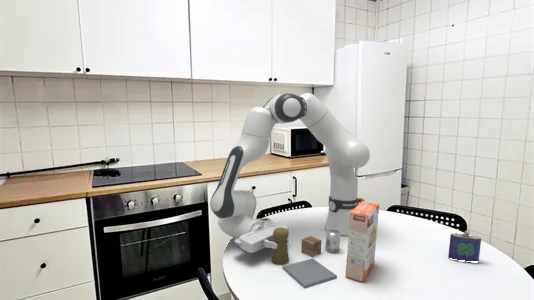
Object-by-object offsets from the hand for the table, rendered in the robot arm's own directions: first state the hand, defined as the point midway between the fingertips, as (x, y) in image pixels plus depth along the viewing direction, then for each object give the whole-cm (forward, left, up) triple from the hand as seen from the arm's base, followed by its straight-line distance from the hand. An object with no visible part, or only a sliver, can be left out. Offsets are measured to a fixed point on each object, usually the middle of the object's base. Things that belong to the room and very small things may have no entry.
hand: (282, 243), depth 101 cm
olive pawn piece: (0, -1, -6) cm, 6 cm away
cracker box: (-19, +16, -6) cm, 26 cm away
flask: (-56, +27, -6) cm, 63 cm away
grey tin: (-20, +1, -6) cm, 22 cm away
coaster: (-3, +10, -6) cm, 12 cm away
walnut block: (-12, -1, -6) cm, 14 cm away
